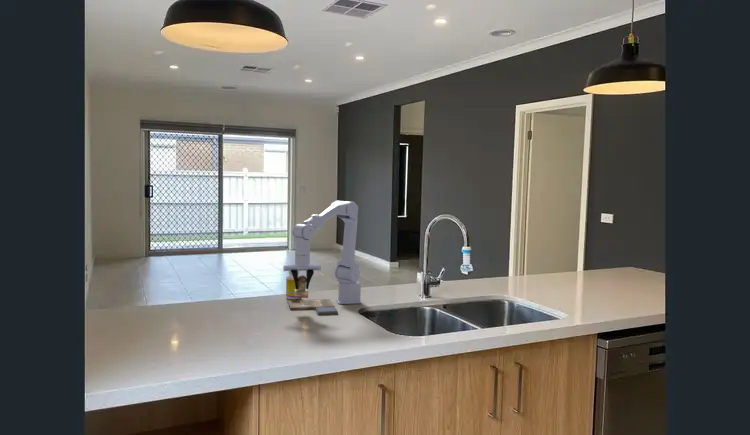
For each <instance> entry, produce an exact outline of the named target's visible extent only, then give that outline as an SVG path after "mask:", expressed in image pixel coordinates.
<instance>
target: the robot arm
mask: <svg viewBox="0 0 750 435" xmlns="http://www.w3.org/2000/svg"><path fill="white" fill-rule="evenodd" d="M335 216H336V217H338V218H340V219H341V220H342V221H343V223H344V228H343V229H344V231H343V240H342V253H341V258H340V260H339V261H338V262H337V264H336V268H335V270H334V276H335V278H336V279H337V282H338V293H337V295H338V296H337V297H338V298H336V299H335V301H336V302H337V303H338V304H339V305H346V304H347V305H349V304H352V305H353V304H361V294H362V293H361V289H362V288H361V282H360V281H358V280H359V278H360V268H359V267H360V265H359V263H357V261H356V260H355V258H356V257H355V254H356V244H357V235H358V234H357V233H358V221H359V220H358V216H359V206H358V204H357V203H356V202H355V201H347V200H345V201H344V200H337V199H336V200H335V201H333V202H331V203H330V206H329V207H327V208H326V209H325V210H323V211H322V212H321V213H320V214H317V213H316V214H311V215H310V217H309V218H307V219H306V220H304V221H303V222H302V223H297V224H295V226H294V227H293V229H292V231H291V234H292V237H293V240H294V243H295V244H294V246H295V250H294V264H290V265H289V264H288V265H287V264H286V265H283V272H289V271H291V273H292V275H293V278H294V281H295V286H296V289H298V271H299V272H301V271H302V272H303V271H305V273H306V274H305V277H306V279H307V281H306V287H305V289H307V290H308V289H309V286H310V283H311V279H312V278H313V276H314V274H315V271H319V272H320V271H322V266H321V264H310V263H311V259H310V258H311V239H312V238H313V236H314V235H315V234H314V233H316V232H317V231H319V229H321V228H323V227H324V226H325V222H326V221H328V220H330V219H332V218H333V217H335Z"/></svg>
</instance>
